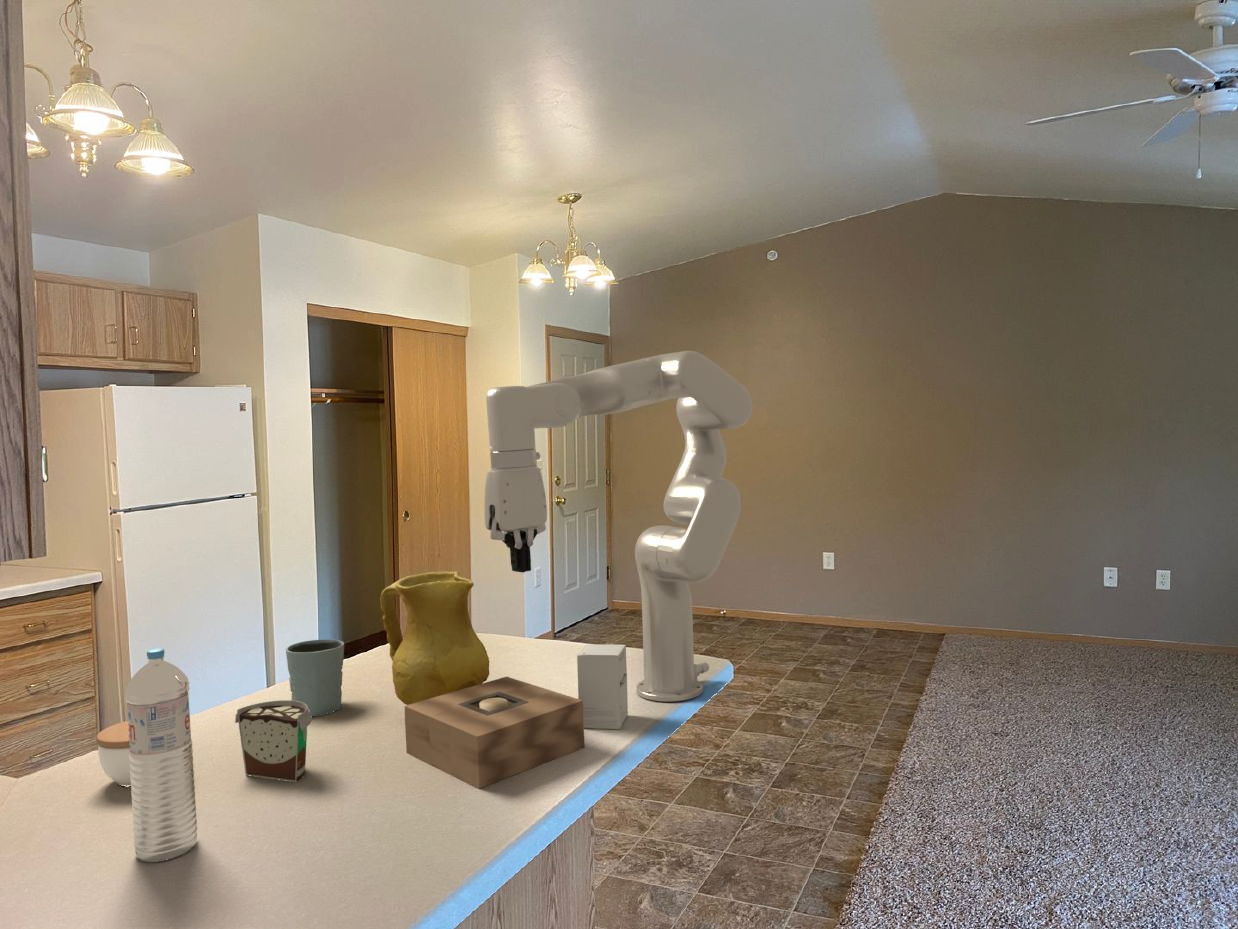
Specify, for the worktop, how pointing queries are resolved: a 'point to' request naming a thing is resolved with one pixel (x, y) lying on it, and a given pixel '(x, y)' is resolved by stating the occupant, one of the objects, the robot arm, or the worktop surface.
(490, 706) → the peg
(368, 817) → the worktop surface
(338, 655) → the grey-green cup
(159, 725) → the water bottle
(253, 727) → the food container
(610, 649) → the supplement box
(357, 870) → the worktop surface
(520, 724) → the peg block
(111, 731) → the lidded jar
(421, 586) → the pitcher
